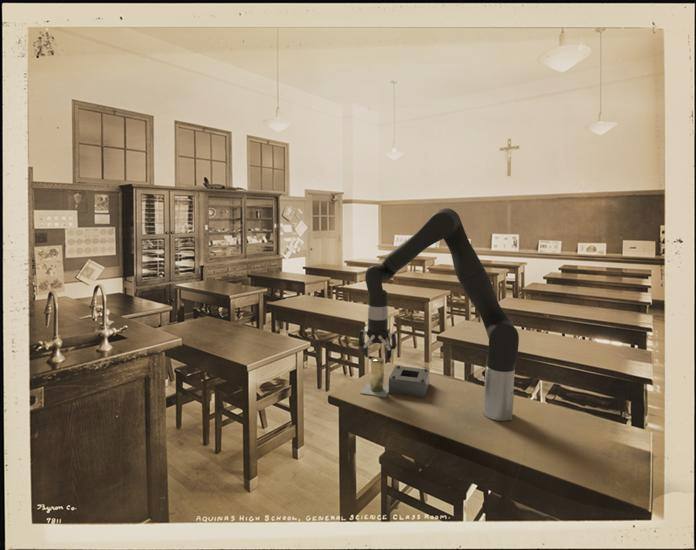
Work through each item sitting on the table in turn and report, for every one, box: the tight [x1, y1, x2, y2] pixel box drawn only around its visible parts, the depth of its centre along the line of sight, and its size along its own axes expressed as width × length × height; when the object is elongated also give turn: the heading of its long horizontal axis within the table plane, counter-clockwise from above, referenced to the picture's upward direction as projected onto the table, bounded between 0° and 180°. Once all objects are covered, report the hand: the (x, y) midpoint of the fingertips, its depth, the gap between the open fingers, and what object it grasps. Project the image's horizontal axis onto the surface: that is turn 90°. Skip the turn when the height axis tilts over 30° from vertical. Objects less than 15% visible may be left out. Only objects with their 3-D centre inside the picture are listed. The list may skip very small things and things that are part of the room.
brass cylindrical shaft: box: [370, 357, 385, 392], centre depth 158 cm, size 5×5×12 cm
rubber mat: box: [360, 382, 390, 398], centre depth 159 cm, size 10×10×1 cm
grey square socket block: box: [388, 365, 431, 399], centre depth 161 cm, size 14×14×7 cm
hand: (377, 357), depth 157 cm, fingers open, 8 cm apart
